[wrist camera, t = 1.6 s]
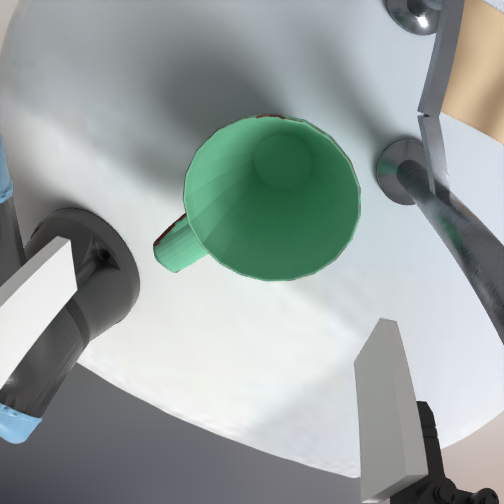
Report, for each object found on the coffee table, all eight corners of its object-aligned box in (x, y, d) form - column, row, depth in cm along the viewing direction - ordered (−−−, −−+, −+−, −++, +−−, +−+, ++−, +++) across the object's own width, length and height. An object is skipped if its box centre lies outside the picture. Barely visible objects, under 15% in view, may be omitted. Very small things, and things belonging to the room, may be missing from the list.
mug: (301, 79, 22) (299, 77, 14) (363, 182, 25) (390, 238, 17) (161, 174, 28) (102, 220, 19) (224, 256, 31) (192, 327, 23)
